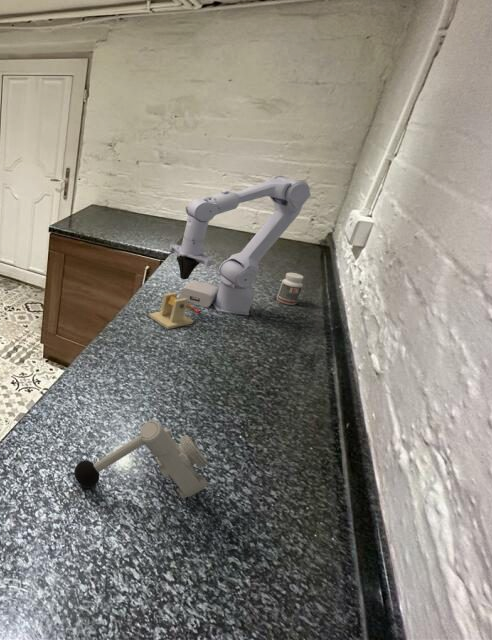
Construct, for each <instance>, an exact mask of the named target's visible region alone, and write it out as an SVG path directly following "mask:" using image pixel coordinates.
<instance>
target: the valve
mask: <svg viewBox="0 0 492 640" xmlns="http://www.w3.org/2000/svg"><path fill="white" fill-rule="evenodd" d="M139 431H140V434H139V435H138V436H136V437H135V438H133V439H132V440H130V441H128V442H126V443H125V444H124V445H122V446H120V447H119V448H117V449H115V450H114V451H112V452H110V453H109V454H107V455H106V456H104V457H102V458H101V459H99V460H98V461H96V462H95V463H94V462H92V461H91V460H85V459H84V460H81V461H79V462H78V463H77V464H76V465H75V468H74V477H75V479H76V482H77V483H78V484H79V485H80V486H82V487H83V488H87V489H90V488H93V487H95V486H96V485H97V484H98V483H99V480H100V472H102V471H103V470H105V469H106V468H109V467H110V466H111V465H113V464H114V463H116V462H119V460H121V459H123V458H124V457H126V456H127V455H129V454H131V453H132V452H134V451H135V450H137V449H139V448H141V447H142V446H146V448H147V449H148V450H149V452H151V454H152V455H153V457H155V458H157V459H156V463H157V464H158V470H159V472H160V474H161V475H162V477H163V478H168V479H172V481H173V482H174V483H175V484H176V486H177V488H176V491H177V493H178V494H179V496H180V497H181V498H182V499H184V500H185V499H187V498H191V497H192V496H194V495H196V494H198V493H199V492H200V491H202V490H204V489H205V488H206V487H208V486H209V483H208V480H207V479H206V478H205V476H204V475H202V474H201V473H199V474H198V473H197V470H196V468H195V467H194V465H196V467H197V468H198V469H199V470H200V469H201V468H203V467H205V466H207V465H209V462H208V460H207V459H206V457H205V455H204V454H203V453H202V451H201V449H199V448H198V446H197V444H195V442H194V441H193V439H192V438H191V437H190V436H189V435H188V434H184V435H183V436H182V437H180V438H178V440H179V442H180V445H178V443H177V442H176V440H174V439H173V438H174V436H173V432H172V431H171V430H170V429H169V428H168V427H167V426H164V427H163V426H162V425H161V424H160V423H159V422H158V421H157V420H154V419H149V420H148V422H146V423H144V424H143V425H142V426H141V428H140V430H139Z"/></svg>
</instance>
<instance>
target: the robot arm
mask: <svg viewBox="0 0 492 640" xmlns="http://www.w3.org/2000/svg"><path fill="white" fill-rule="evenodd" d="M265 197H269V199H270V200H271V202H272V203H273V207H274V211H273V213H272V214H271V215H270V216H269V218H268V219H267V220H266V221H265V222H264V224H263V225H262V226H261V227H260V228H259V229H258V231H257V232H256V234H255V235H254V236H253V237H252V238H251V239H250V241H248V243H247V244H246V245H245V247H243V249H242V250H241V251H240V252H238V253H233V254H231V255H230V256H229V258H227V259H226V260H224V261H222V262H221V263H220V265H219V267H218V273H219V275H220V282H219V286H218V293H217V296H216V299H215V300H214V302H213V303H212V304H211V305H212V306H213V307H214V309H215V310H216V311H217V312H221V313H229V314H235V315H242V316H243V315H245V316H250V313H249V312H250V310H251V306H252V303H253V300H254V296H255V290H254V287H253V284H254V282H255V280H256V277H257V275H258V274H259V273H260V266H259V262H260V261H261V260H262V258H263V257H265V255H266V254H267V253H268V251H269V250H270V249H271V248H272V247H273V246H274V244H275V243H276V242H277V241H278V240H279V238H280V237H281V236H282V235H283V234H284V232H285V231H286V230H288V228H289V227H290V225H291V224H292V223H293V222H294V221H295V220H296V219H297V217H299V215H300V212H301V211H302V208H303V206H304V204H306V202H307V201H308V199H309V198H310V197H311V189H310V185H309V184H308V182H306V181H302V180H297V179H293V178H288V177H286V176H283V175H276V176H274V177H269V178H266V180H264V181H262V182H259V183H257V184H255V185H251V186H249V187H246V188H244V189H241V190H238V191H236V192H235V191H232V190H228V189H223V190H221V192H220V193H218V194H214V195H211V196H210V195H208V196H205V197H204V198H203V199H202V198H194V199H192V200H191V201H190V202H189V203H188V205H187V206H185V213H186V214H187V218H186V225H185V228H184V233H183V237H182V242H181V245H179V244H176V243H171V244H170V245H169V249H168V250H169V251H171V252H174V253H177V254H178V255H177V256H176V260H177V264H178V267H179V277H180V279H181V280H183V281H185V280H189V278H190V276H191V275H192V273H193V271H194V270H195V268H196V267H197V266H198V265H200V264H201V265H203V266H205V267H211V266H212V264H213V259H212V258H210V257H208V256H207V255H205V254H204V253H203V252H202V250H203V246H204V242H205V238H206V233H207V230H208V226H209V222H210V221H212V220H213V219H214V218H215V217H216V216H217V215H220V214H224V213H226V212H229V211H232V210H236V209H237V208H238V207H239V205H240V204H243V203H247V202H249V201H250V202H251V201H254V200H258V199H262V198H265Z"/></svg>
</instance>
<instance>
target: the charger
mask: <svg viewBox="0 0 492 640" xmlns="http://www.w3.org/2000/svg"><path fill="white" fill-rule="evenodd" d="M218 289H219V287H217V286H215V285H213V284H211V283H207V282H204V281H203V282H201V281H197V280H191V281H189V282H187V284H185V285H184V286H183V287H182V288H181V290H180V295H179V299H182V298H187V299H188V301H187V303H188V302H189V303H191V304H195V305H196V306H197V305H198V306H201V307H204V308H209V307H211V305H213V304H212V303H213V302H214V300H216V296H217V293H218Z"/></svg>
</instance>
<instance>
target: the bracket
mask: <svg viewBox="0 0 492 640" xmlns="http://www.w3.org/2000/svg"><path fill="white" fill-rule="evenodd" d="M171 296H173V297H176V298H178V292H175V291H173V292H168V293H164V294H163V297H162V301H161V306H160V311H155V312H151V313H148V318H151V319H152V320H154V321H155V322H157V323H158V324H159V325H161V326H162V327H164V328H166V329H167V330H171V329H175V328H180V327H184V326H187V325H191V324H194V320H193V319H192V318H190V317H188V316H187V315H185V313H186V310H187V308H186V305H187V304H188V299H187V298H182V299H180V298H178V299H177V300H174V304H173V306H172V305H170V304H169V303H167V302H168V300H169V299H170V297H171Z"/></svg>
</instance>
